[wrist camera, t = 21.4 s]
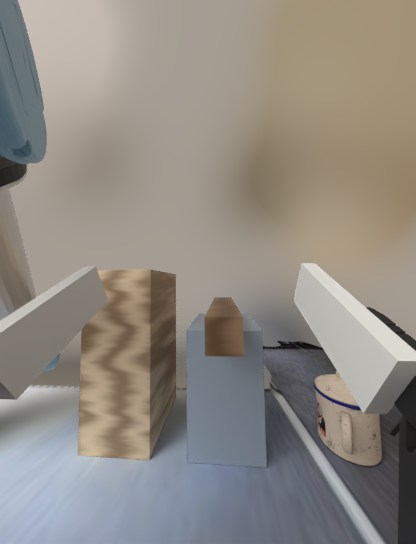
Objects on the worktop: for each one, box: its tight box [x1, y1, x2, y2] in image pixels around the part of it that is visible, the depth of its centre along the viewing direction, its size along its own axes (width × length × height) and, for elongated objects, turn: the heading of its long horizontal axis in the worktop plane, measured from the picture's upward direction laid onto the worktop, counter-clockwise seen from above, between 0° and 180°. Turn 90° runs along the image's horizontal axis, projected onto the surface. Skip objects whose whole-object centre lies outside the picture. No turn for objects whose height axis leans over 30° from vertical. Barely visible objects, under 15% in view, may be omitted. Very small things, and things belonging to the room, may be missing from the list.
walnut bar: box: [204, 297, 244, 357], centre depth 31 cm, size 4×26×4 cm, turn 175°
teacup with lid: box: [314, 371, 382, 466], centre depth 30 cm, size 12×9×12 cm
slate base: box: [186, 314, 267, 468], centre depth 36 cm, size 12×16×20 cm
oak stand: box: [78, 270, 176, 460], centre depth 38 cm, size 12×16×30 cm
